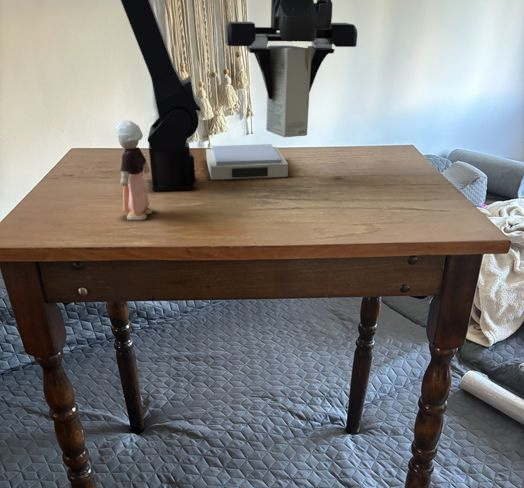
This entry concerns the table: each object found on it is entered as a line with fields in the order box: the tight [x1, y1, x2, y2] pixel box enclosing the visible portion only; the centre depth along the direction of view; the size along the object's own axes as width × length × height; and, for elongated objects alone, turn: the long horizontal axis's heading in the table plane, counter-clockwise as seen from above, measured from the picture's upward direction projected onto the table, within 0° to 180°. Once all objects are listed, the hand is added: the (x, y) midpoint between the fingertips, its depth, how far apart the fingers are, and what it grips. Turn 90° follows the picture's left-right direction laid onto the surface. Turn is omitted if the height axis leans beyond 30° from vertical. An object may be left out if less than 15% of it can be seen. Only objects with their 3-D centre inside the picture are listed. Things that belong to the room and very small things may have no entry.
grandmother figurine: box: [115, 119, 153, 221], centre depth 75 cm, size 8×4×13 cm, turn 178°
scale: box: [205, 143, 289, 181], centre depth 98 cm, size 13×12×3 cm
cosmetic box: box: [265, 44, 312, 138], centre depth 86 cm, size 6×4×12 cm
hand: (287, 98), depth 86 cm, fingers closed on cosmetic box, 5 cm apart
